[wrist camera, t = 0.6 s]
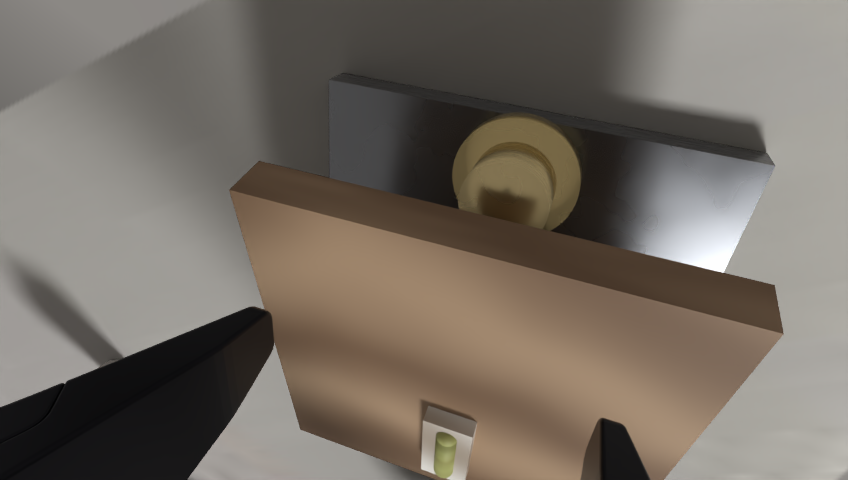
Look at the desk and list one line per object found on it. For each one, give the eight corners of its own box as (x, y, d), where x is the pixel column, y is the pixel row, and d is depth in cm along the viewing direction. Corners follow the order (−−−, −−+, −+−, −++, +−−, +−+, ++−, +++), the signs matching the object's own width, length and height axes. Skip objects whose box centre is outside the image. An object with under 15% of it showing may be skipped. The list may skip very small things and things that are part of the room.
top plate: (607, 499, 23) (600, 577, 21) (326, 401, 27) (295, 460, 24) (770, 262, 13) (789, 367, 11) (273, 146, 16) (209, 209, 14)
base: (626, 451, 26) (626, 534, 23) (340, 357, 30) (300, 416, 26) (771, 144, 18) (807, 199, 14) (342, 65, 21) (283, 92, 18)
